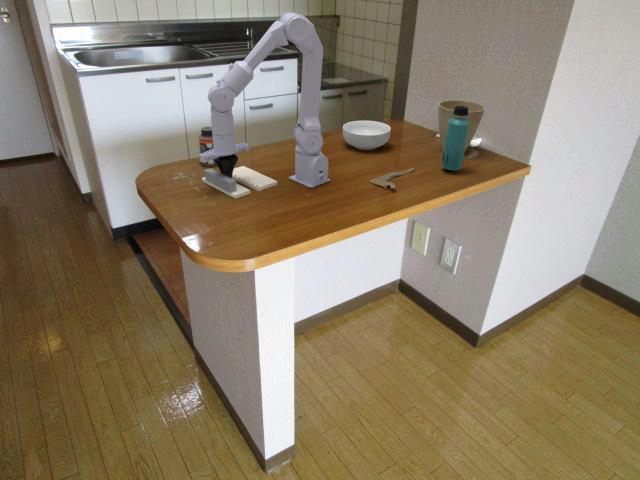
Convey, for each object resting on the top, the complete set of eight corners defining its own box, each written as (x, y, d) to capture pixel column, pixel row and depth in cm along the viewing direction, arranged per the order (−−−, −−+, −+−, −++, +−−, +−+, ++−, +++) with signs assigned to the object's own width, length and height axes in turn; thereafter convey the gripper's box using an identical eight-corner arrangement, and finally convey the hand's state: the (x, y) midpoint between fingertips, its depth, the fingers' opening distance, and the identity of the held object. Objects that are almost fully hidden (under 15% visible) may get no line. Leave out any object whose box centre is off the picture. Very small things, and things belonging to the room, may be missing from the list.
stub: (250, 193, 124) (249, 180, 122) (235, 198, 121) (234, 185, 119) (216, 176, 134) (215, 163, 132) (201, 181, 131) (200, 168, 129)
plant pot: (423, 151, 158) (430, 105, 150) (444, 142, 168) (452, 97, 160) (463, 162, 150) (472, 114, 142) (482, 152, 159) (492, 105, 151)
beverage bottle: (464, 171, 143) (477, 106, 133) (454, 176, 139) (466, 110, 129) (446, 165, 147) (457, 102, 137) (435, 171, 142) (446, 106, 132)
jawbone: (364, 189, 131) (364, 182, 130) (388, 168, 147) (388, 161, 146) (394, 193, 127) (394, 186, 126) (415, 171, 143) (415, 164, 142)
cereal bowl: (344, 137, 169) (345, 118, 166) (389, 140, 168) (391, 121, 164) (339, 152, 155) (340, 132, 151) (388, 156, 153) (390, 135, 150)
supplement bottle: (216, 168, 140) (212, 132, 134) (198, 166, 141) (194, 130, 135) (223, 161, 145) (220, 126, 139) (206, 159, 146) (202, 124, 140)
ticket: (277, 184, 130) (277, 180, 130) (258, 191, 126) (258, 187, 125) (243, 168, 140) (243, 165, 139) (224, 174, 136) (224, 171, 135)
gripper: (236, 124, 127) (239, 170, 134) (191, 134, 118) (196, 183, 125) (252, 130, 123) (254, 177, 130) (206, 141, 114) (211, 191, 121)
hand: (227, 180), depth 127 cm, fingers closed
